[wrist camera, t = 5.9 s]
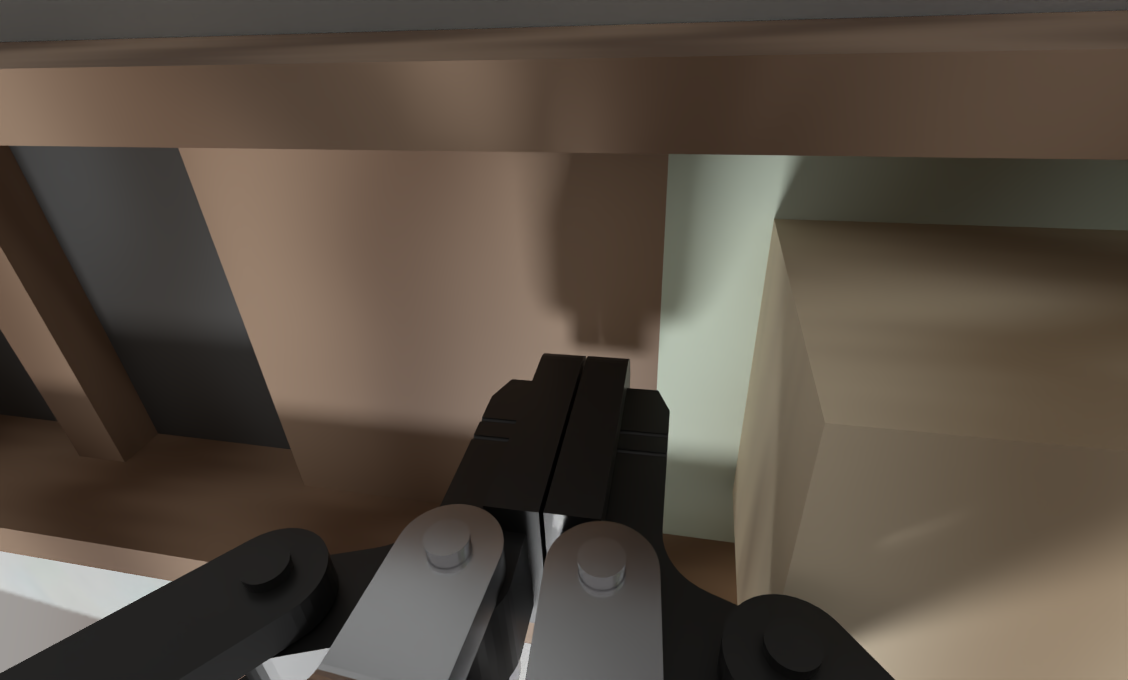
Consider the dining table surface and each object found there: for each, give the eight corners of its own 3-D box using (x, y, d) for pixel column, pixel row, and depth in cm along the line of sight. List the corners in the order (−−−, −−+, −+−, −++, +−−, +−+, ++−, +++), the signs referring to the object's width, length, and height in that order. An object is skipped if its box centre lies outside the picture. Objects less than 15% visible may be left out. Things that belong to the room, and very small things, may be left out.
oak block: (1229, 234, 8) (1748, 508, 4) (1056, 529, 11) (1254, 853, 7) (773, 218, 9) (824, 421, 5) (732, 492, 13) (743, 753, 8)
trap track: (1396, 2, 8) (2169, 52, 4) (1057, 562, 14) (1208, 823, 10) (-288, 50, 14) (-717, 90, 10) (-18, 427, 20) (-211, 552, 16)
